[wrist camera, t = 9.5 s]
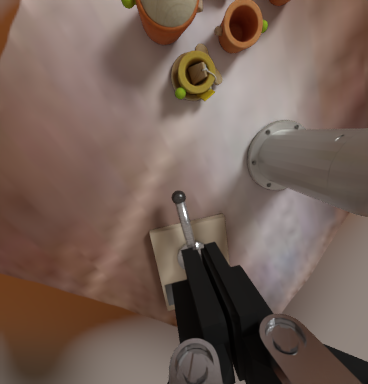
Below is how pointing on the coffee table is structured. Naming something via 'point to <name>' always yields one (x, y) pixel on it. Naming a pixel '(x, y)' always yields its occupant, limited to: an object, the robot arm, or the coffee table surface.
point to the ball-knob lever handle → (185, 226)
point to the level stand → (174, 239)
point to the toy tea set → (199, 59)
